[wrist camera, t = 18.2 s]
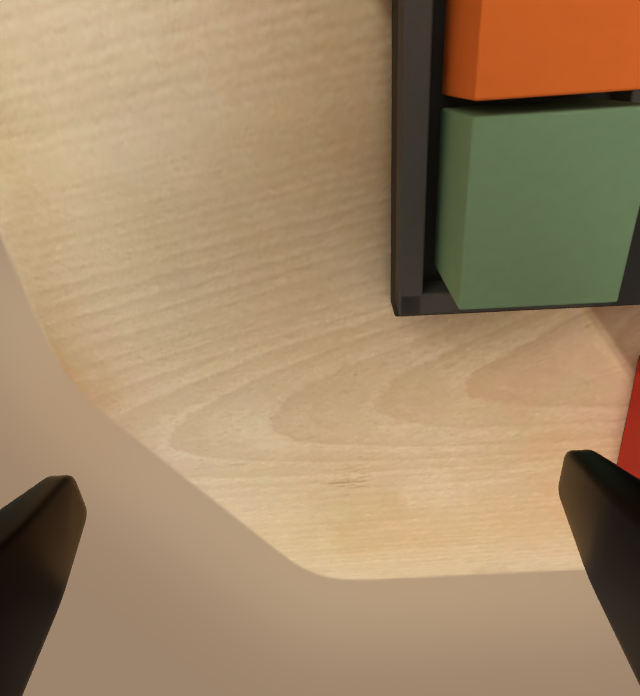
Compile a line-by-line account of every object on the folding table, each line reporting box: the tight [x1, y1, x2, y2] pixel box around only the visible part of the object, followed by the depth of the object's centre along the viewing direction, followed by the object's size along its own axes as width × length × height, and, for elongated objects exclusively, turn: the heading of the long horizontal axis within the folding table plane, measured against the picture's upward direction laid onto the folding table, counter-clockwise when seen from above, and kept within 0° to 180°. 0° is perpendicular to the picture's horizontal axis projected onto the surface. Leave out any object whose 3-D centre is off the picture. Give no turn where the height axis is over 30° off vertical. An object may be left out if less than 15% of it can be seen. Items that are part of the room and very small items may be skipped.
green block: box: [434, 98, 640, 310], centre depth 15 cm, size 4×5×4 cm
